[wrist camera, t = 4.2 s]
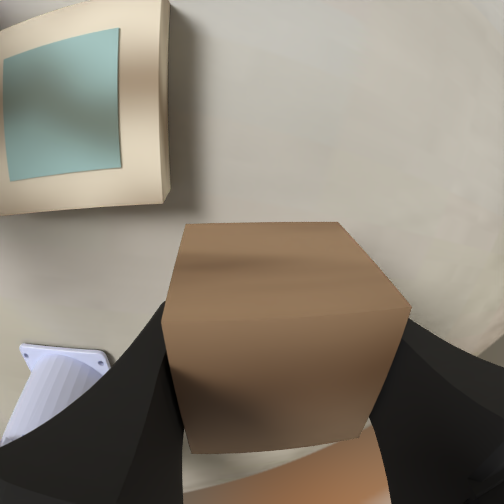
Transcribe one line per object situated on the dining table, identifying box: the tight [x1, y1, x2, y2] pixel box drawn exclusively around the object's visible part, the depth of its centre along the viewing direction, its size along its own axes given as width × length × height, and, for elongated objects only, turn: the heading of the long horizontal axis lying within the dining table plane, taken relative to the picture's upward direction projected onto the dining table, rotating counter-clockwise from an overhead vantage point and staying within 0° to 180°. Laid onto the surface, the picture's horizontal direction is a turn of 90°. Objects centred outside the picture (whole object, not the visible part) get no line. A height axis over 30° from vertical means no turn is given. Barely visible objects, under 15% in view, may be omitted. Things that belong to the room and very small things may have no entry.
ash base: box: [0, 0, 171, 216], centre depth 12 cm, size 10×10×3 cm
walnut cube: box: [161, 222, 412, 454], centre depth 9 cm, size 5×5×5 cm
